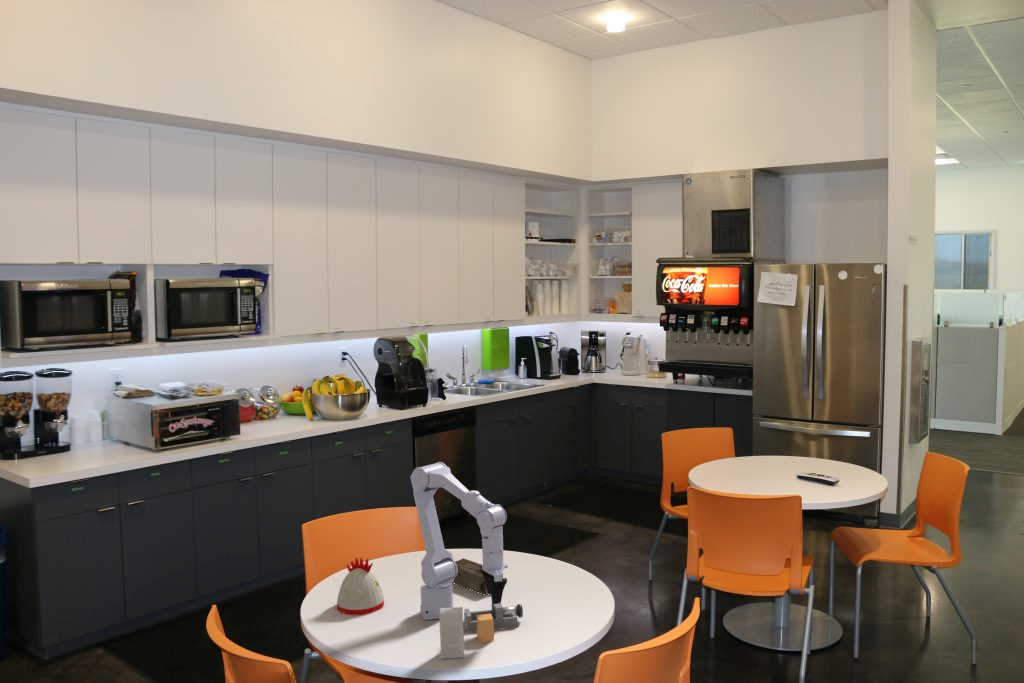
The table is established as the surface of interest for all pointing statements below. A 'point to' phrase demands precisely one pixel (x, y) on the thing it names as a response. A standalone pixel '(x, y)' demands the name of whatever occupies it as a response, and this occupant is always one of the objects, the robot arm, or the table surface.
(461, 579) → the beverage carton
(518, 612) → the shaft
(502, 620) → the housing
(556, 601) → the table surface
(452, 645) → the skincare box
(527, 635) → the table surface
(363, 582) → the chicken head dome
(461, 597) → the table surface
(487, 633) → the block
